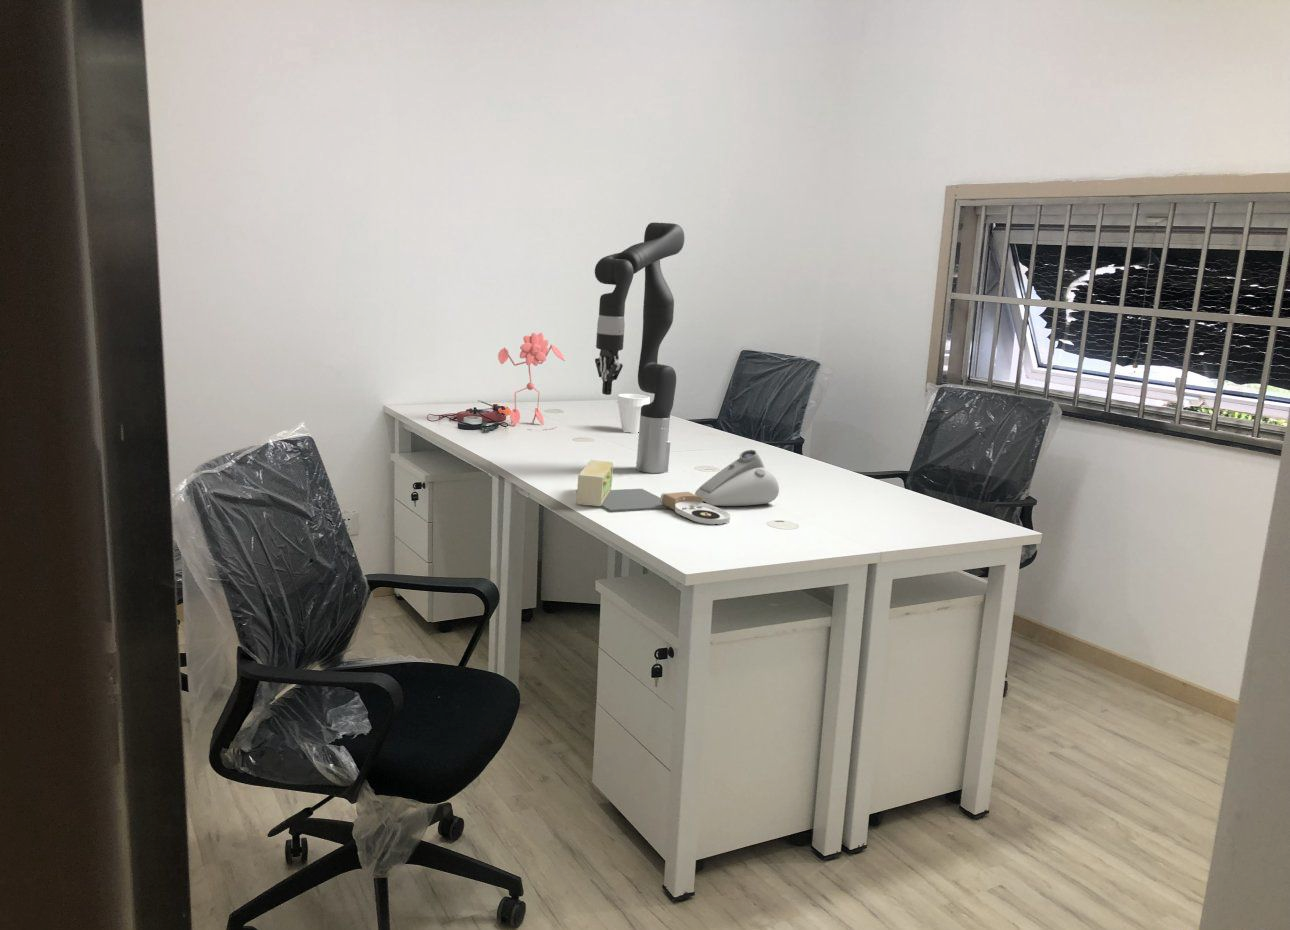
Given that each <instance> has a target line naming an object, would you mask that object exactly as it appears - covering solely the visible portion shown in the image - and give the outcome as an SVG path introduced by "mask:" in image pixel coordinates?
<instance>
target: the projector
mask: <svg viewBox="0 0 1290 930" xmlns="http://www.w3.org/2000/svg"><path fill="white" fill-rule="evenodd" d="M779 485H780V484H779V481H778V479H777V478H776V477H775V475H774V474H773V473H772V472H771V471H770V469H767V468H766V467H765V465H764V463H763V460H762V458H761V456H760V455H759V453H758V452H757V450H755V449H748V450H745V451H743V452H741V453H740V454H739V458H737V459H735V460H734V461H733V462H731V463H730V464H728V465H727V466H725V467H724V468H722V469H721V470H720V471H718V472H717V473H716V474H714V475H713V476H712V477H710V478H709V479H708V480H707V481H705V482H704V483H703V484H702V485H700V487H698V488H697V489H696V490H695V492H694V495H697V496H699V497H701V498H702V502H703V503H704V502H705V503H706V504H710V505H712V506H715V507H747V506H757V505H759V506H760V505H765V504H769V503H772V502H773V501H774V500H776V499H777V497H778V496H779V493H780V486H779Z"/></svg>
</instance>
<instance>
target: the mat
mask: <svg viewBox="0 0 1290 930" xmlns="http://www.w3.org/2000/svg"><path fill="white" fill-rule="evenodd" d="M660 498H661V496H658V495H655V494H653V493H651V492H650V491H648V490H646V489H644V488H627V489H611V490H610V492H609V493H608V495H607V497H606V498H605V500H604V502H603V503H602V505H601V506H599V507H600V508H602V509H604V510H605V509H606V511H607V512H609V513H619V512H637V511H653V510H654V511H655V510H656V511H657V510H670V509H671V508H669V507H667V506H665V505H663V504H661V503H660ZM671 510H672V509H671Z"/></svg>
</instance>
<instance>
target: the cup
mask: <svg viewBox="0 0 1290 930" xmlns="http://www.w3.org/2000/svg"><path fill="white" fill-rule="evenodd" d="M650 399H651V397H650V396H648V395H644V394H637V393H620V394H618V395H617V399H616V400H617V402H616V403H617V405H618V410H619V411H618V412H619V418H620V424H621V431H622V430H623V431H626V432H631V433H630V434H639V433H638V432H639V425H640V413H641V407H642V406H643V405H646V404H650V403H651V402H650ZM623 431H622V432H623Z"/></svg>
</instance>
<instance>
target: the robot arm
mask: <svg viewBox="0 0 1290 930" xmlns="http://www.w3.org/2000/svg"><path fill="white" fill-rule="evenodd" d="M684 244H685V232H684V230H683V228H682V227H681V226H680V225H679V224H677V223H671V222H650V223H648V224H647V225H646V227H645V231H644V236H643V242H638V243H636V244H633V245H631V246H629V247H628V248H626V249H623V251H621V252H618V253H612V254H608V255H606V256H603V257H602V258H600V259H599V260H598V261H597V263H596V265H595V267H594V276H595V278H596V280H597V282H599V283H600V284H603V285H609V286H610V285H613V286H614V289H613V291H612V292H607V293H603V294H601V295H600V296H599V297H600V298H599V306H598V307H599V308H598V318H597V325H596V326H597V328H596V339H595V340H596V344H595V347H596V349H598V350H600V351H599V357H598V358H595V359H594V362H595V366H596V371H597V373H598V377H599V378H601V380H602V388H601V389H602V390H601V394H603V395H606V396H610V395H612V390H613V389H612V388H613V382H614V381H617V379H618V377H619V376H620V373H621V372H622V369H623V367H624V366H623V363H620V362H619V360H620V359H619V358H620V357H619V352H620V351H623V350H624V343H625V342H624V341H625V340H624V337H625V309H626V301H627V297H628V295H629V291H630V287H631V284H632V282H633V278H634V275H635V274H636V273H638V272H640V271H641V270H643V269H644V291H643V292H644V293H643V306H642V307H643V309H642V311H643V312H642V336H641V347H640V354H639V355H640V356H639V363H638V369H637V384H638V387H639V389H640V390H641V391H642V392H644V393H648V394H651V395H654V396H653V401H651V402H650V404H646V405H643V406H642V407H641V413H640V425H639V433H638V438H637V452H636V461H635V463H636V465H635V467H636V468H635V469H636V471H639V472H643V473H651V474H661V473H662V474H663V473H666V472H669V464H670V463H669V462H670V452H671V441H670V440H669V432H670V424H671V423H670V422H671V412H672V409H673V406H674V402H675V393H676V387H677V373H676V370H675V369H674V368H673V366H669V365H666V364H659V363H658V360H659V359H658V356H659V355H658V354H659V351H660V347H661V344H662V342H663V340H664V339H665V337H666V335H667V334H668V332H669V330H670V329H671V327H672V325H673V321H674V309H675V299H674V295H673V293H672V291H671V288H670V286H669V284H668V283H667V281H666V279H665V277H664V274H663V273H662V268H661V260H662V259H665V258H667V257H671V256H674V255H678V254H679V253H680V252H681V251H682V249H683V248H684Z"/></svg>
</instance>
